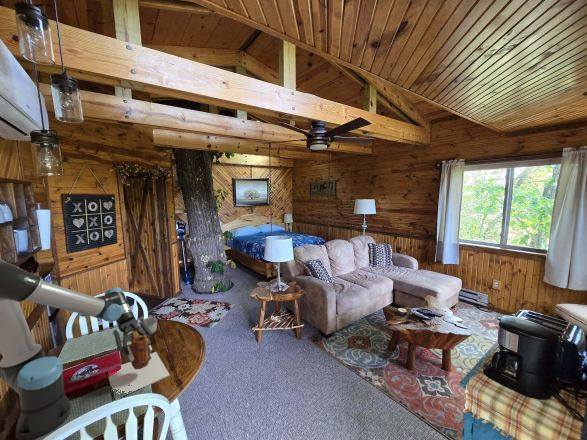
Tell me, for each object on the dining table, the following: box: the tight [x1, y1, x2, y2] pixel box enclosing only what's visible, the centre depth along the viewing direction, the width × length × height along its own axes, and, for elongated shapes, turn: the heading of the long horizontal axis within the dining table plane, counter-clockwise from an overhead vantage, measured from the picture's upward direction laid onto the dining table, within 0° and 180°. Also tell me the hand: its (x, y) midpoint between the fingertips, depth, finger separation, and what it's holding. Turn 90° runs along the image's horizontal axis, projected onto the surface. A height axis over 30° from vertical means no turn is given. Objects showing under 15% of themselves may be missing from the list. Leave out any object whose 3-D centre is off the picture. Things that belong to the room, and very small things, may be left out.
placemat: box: [108, 351, 171, 402], centre depth 120 cm, size 22×24×1 cm
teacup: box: [131, 317, 158, 335], centre depth 153 cm, size 14×11×8 cm
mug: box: [129, 331, 151, 369], centre depth 119 cm, size 15×8×15 cm, turn 49°
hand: (142, 355), depth 117 cm, fingers closed on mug, 8 cm apart
